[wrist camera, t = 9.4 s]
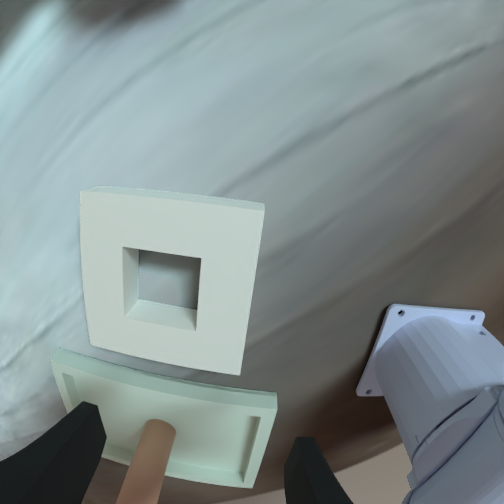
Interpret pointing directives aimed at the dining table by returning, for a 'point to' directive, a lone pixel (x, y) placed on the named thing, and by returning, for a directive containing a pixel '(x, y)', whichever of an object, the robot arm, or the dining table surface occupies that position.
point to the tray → (173, 417)
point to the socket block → (173, 242)
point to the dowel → (148, 464)
